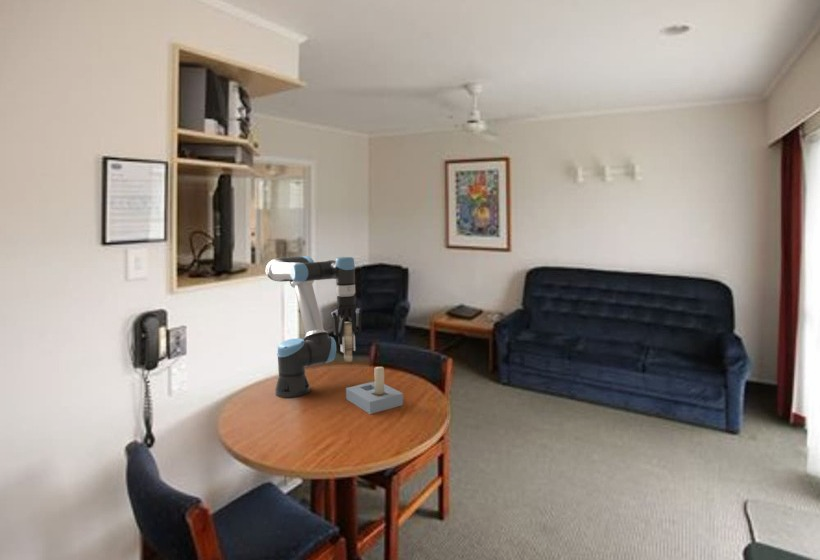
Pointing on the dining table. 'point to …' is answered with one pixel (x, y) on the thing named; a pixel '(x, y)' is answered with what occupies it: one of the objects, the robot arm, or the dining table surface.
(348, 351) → the beech leg
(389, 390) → the seat board
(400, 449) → the dining table surface
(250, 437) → the dining table surface
